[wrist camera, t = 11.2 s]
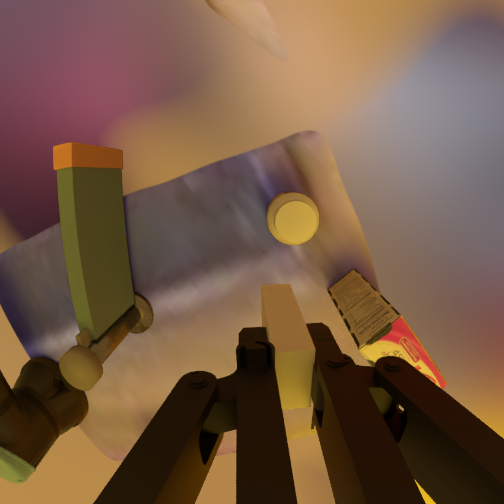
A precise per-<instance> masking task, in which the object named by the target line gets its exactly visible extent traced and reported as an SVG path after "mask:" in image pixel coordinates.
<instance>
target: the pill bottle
mask: <svg viewBox="0 0 504 504" xmlns="http://www.w3.org/2000/svg"><path fill="white" fill-rule="evenodd" d="M267 224H268V228H269V230H270V232H271V234H272V235H273V236H274V237H275V238H276V239H277V240H279V241H280V242H282V243H285V244H289V245H297V244H301V243H304V242H306V241H307V240H309V239H310V238H311V237H312V236H313V235H314V234H315V232H316V230H317V228H318V225H319V213H318V209H317V207H316V205H315V204H314V202H313V201H312V200H311V199H310V198H309V197H307V196H305V195H303V194H301V193H296V192H283V193H281V194H278V195H277V196H275V197H274V198H273V199H272V200H271V202H270V203H269V205H268V208H267Z"/></svg>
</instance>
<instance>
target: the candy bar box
mask: <svg viewBox="0 0 504 504" xmlns="http://www.w3.org/2000/svg"><path fill="white" fill-rule="evenodd" d="M327 291H328V293H329V294H330V296H331V298H332V300H333V302H334V304H335V306H336V307H337V309H338V311H339V313H340V315H341V317H342V319H343V321H344V322H345V324H346V326H347V328H348V330H349V332H350V333H351V335H352V337H353V339H354V341H355V343H356V345H357V347H358V349H359V351H360V352H361V354H362V355H363V356H364V357H365V358H366V359H367V361H368V362H369V363H370V364H371V366H372V367H374V366H375V362H376V361H377V359H379V358H381V357H384V356H396V357H400V358H402V359H404V360H406V361H407V362H408V363H410V364H411V365H412V366H413V367H415V368H416V369H417V370H418V371H420V372H421V373H422V374H424V375H425V376H426V377H427V378H429V379H430V380H431V381H432V382H434V383H435V384H436V385H437V386H439V387H440V388H441V389H443V388H444V387H445V386H446V385H447V382H446V380H445V379H444V377H443V376H442V374H441V373H440V371H439V370H438V368H437V366H436V365H435V363H434V362H433V360H432V359H431V357H430V356H429V354H428V353H427V351H426V350H425V348H424V347H423V346H422V344H421V343H420V341H419V340H418V338H417V337H416V335H415V334H414V333H413V331H412V329H411V328H410V326H409V325H408V324H407V322H406V321H405V320H404V318H403V317H402V315H400V314H399V313H398V312H397V311H396V310H395V309H394V308H393V306H392V305H391V304H390V303H389V302H388V301H387V300H386V299H385V298H384V297H383V296H382V295H381V294H380V293H379V292H378V291H377V290H376V289H375V288H374V287H373V286H372V285H371V284H370V283H369V282H368V281H367V280H366V279H365V278H364V277H363V276H362V275H361V274H360V273H359V272H358V271H357V270H356V269H353V270H351V271H350V272H349V273H348V274H347V275H346V276H345V277H343V278H342V279H341V280H340V281H338V282H337V283H336V284H335V285H333V286H332V287H331V288H330V289H328V290H327Z"/></svg>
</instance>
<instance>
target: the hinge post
mask: <svg viewBox="0 0 504 504" xmlns="http://www.w3.org/2000/svg"><path fill="white" fill-rule="evenodd" d="M134 299H135V303H134V304H133V305H132V306H131V307H130V308H128V309H127V310H126V311H125V312H124V313H123V314H122V315H121V316H120V317H119V318H118V319H117V320H116V321H115V322H114V323H113V324H112V325H111V326H110V327H109V328H108V329H107V330H106V331H105V332H104V333H103V334H102V335H101V336H100V337H99V338H98V339H97V340H93V339H91V340H90V341H89V342H88V343H87V344H86V345H85V347H87V348H88V349H90V350H91V351H93V352H94V353H95V354H96V355H97V357H98V358H99V360H100V361H101V364H103V362H104V361H105V360H106V359H107V358H108V357H109V355H110V354H111V353H112V352H113V351H114V350H115V348H116V347H117V346H118V345H119V344H120V343H121V342H122V340H123V339H124V338H125V337H126V336H127V335H128V333H129V332H131V333H136V334H137V333H142V332H144V331H146V330H147V329H148V328H149V327H150V325H151V324H152V322H153V310H152V307H151V305H150V303H149V302H148V301H147V300H146V299H145V298H144V297H143V296H141V295H139V294H137V293H134Z"/></svg>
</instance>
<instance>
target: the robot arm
mask: <svg viewBox="0 0 504 504" xmlns="http://www.w3.org/2000/svg"><path fill="white" fill-rule="evenodd" d="M261 295H262V327H252V328H243V329H242V330H241V332H240V333H239V345H238V346H237V348H236V358H237V370H236V371H235V372H234V373H233V374H231V375H229V376H226V377H223V378H219V379H217V378H216V376H215V375H213V374H212V373H209V372H206V371H194V372H190V373H187V374H185V375H183V376H182V377H181V378H180V379H179V381H178V382H177V384H176V385H175V387H174V388H173V390H172V391H171V393H170V394H169V395H168V397H167V398H166V400H165V401H164V403H163V404H162V406H161V407H160V409H159V410H158V412H157V413H156V414H155V416H154V417H153V419H152V420H151V422H150V423H149V425H148V426H147V427H146V429H145V430H144V432H143V433H142V435H141V436H140V438H139V439H138V440H137V442H136V443H135V445H134V446H133V448H132V449H131V451H130V452H129V453H128V455H127V456H126V458H125V459H124V461H123V462H122V463H121V465H120V466H119V468H118V469H117V471H116V472H115V474H114V475H113V476H112V478H111V479H110V481H109V482H108V483H107V485H106V486H105V488H104V489H103V491H102V492H101V494H100V495H99V496H98V498H97V499H96V501H95V502H94V503H93V504H195V502H196V499H197V497H198V495H199V492H200V490H201V488H202V486H203V483H204V481H205V479H206V476H207V474H208V472H209V469H210V467H211V465H212V462H213V460H214V457H215V455H216V453H217V450H218V448H219V446H220V443H221V441H222V438H223V434H224V432H228V431H231V430H235V429H237V443H236V461H237V462H236V469H237V470H236V504H297V498H296V492H295V486H294V480H293V473H292V467H291V461H290V456H289V449H288V443H287V437H286V430H285V424H284V418H283V412H282V409H294V408H305V407H311V397H312V401H313V404H314V407H313V416H312V424H311V429H314V425H315V426H316V430H317V433H318V437H319V441H320V445H321V449H322V452H323V456H324V460H325V464H326V467H327V471H328V476H329V480H330V483H331V487H332V491H333V495H334V499H335V503H336V504H426V503H425V501H424V499H423V497H422V495H421V493H420V491H419V489H418V486H417V484H416V482H415V480H416V481H417V482H418V484H419V485H420V486H421V487H422V488H423V489H424V490H425V492H426V493H427V494H428V495H429V496H430V497H431V498H432V499H433V501H434V502H435V503H436V504H504V439H503V438H502V437H501V436H499V435H498V434H497V433H496V432H495V431H493V430H492V429H491V428H490V427H488V426H487V425H486V424H485V423H483V422H482V421H481V420H480V419H479V418H477V417H476V416H475V415H473V414H472V413H471V412H470V411H469V410H467V409H466V408H465V407H464V406H462V405H461V404H460V403H459V402H457V401H456V400H455V399H454V398H452V397H451V396H450V395H449V394H447V393H446V392H445V391H443V390H442V389H441V388H440V387H439V386H437V385H436V384H435V383H434V382H432V381H431V380H430V379H429V378H427V377H426V376H425V375H424V374H422V373H421V372H420V371H418V370H417V369H416V368H415V367H413V366H412V365H411V364H410V363H408V362H407V361H406V360H404V359H402V358H400V357H396V356H384V357H381V358H379V359H377V361H376V362H375V366H374V367H370V366H359V365H355V363H354V361H353V359H352V358H351V357H350V356H348V355H346V354H342V352H341V350H340V348H339V346H338V344H337V343H336V341H335V340H334V337H333V335H332V333H331V331H330V329H329V327H327V326H326V325H324V324H323V323H310V324H305V321H304V318H303V316H302V313H301V311H300V308H299V306H298V303H297V301H296V298H295V296H294V293H293V291H292V288H291V286H290V284H274V285H261ZM399 405H401V407H403V408H404V411H402V410H401V409H400V408H399ZM87 412H88V403H87V399H86V396H85V394H84V392H83V390H79V389H77V388H75V387H73V386H72V385H71V384H69V383H68V382H67V381H66V379H65V378H64V377H63V375H62V373H61V371H60V367H59V364H58V363H56V362H54V361H53V360H50V359H48V358H45V357H34V358H32V359H31V360H29V361H28V362H27V363H26V364H25V365H24V366H23V368H22V370H21V372H20V376H19V377H18V379H17V381H16V383H15V385H14V388H13V389H11V388H10V386H9V385H8V383H7V381H6V379H5V377H4V376H3V374H2V372H1V370H0V477H2V478H4V479H5V480H7V481H10V482H12V483H16V484H20V483H24V482H25V481H26V480H27V479H28V478H29V477H30V475H31V474H32V473H33V472H35V471H36V470H35V469H36V467H37V466H38V465H39V463H40V462H41V460H42V459H43V458H44V456H45V455H46V453H47V452H48V451H49V449H50V448H51V446H52V445H53V444H54V442H55V441H56V439H57V438H58V437H59V436H60V435H61V434H63V433H64V432H66V431H68V430H69V429H71V428H72V427H75V426H77V425H79V424H80V423H81V422H82V421H83V419H84V418H85V416H86V415H87ZM414 479H415V480H414Z"/></svg>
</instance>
